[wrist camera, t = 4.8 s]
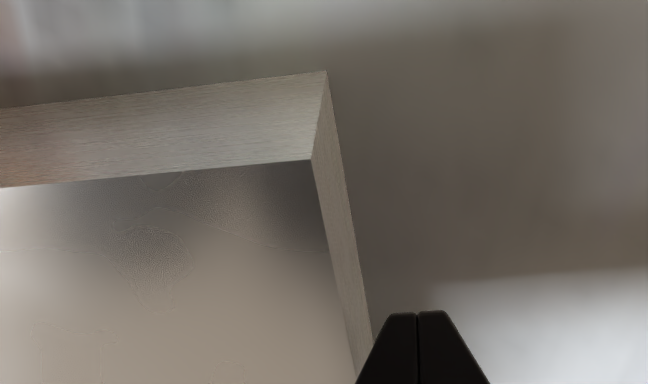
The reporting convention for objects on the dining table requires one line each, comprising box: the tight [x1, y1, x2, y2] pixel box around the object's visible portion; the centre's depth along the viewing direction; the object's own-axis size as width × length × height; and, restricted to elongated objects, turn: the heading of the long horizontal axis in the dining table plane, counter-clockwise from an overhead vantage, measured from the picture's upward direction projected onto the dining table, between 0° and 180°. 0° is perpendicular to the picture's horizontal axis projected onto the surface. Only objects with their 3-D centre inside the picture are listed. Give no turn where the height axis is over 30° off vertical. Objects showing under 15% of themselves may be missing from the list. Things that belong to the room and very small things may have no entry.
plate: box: [0, 71, 374, 384], centre depth 10 cm, size 7×7×2 cm
